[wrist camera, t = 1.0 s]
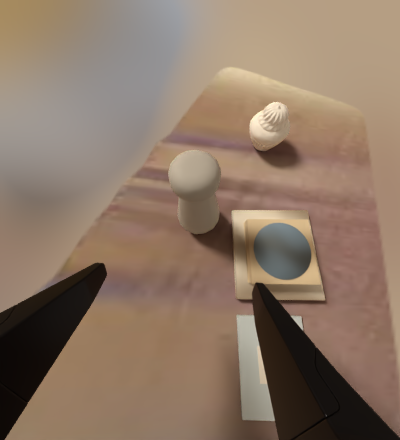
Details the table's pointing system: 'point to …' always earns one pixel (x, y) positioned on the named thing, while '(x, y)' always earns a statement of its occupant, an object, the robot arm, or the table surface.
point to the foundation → (275, 254)
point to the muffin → (270, 126)
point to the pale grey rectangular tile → (253, 372)
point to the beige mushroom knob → (196, 189)
